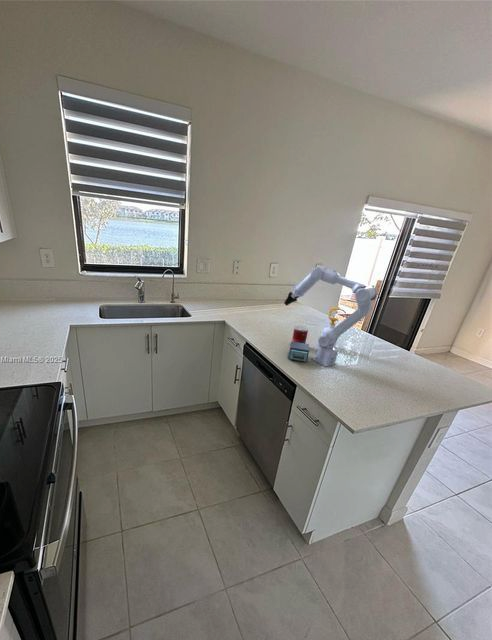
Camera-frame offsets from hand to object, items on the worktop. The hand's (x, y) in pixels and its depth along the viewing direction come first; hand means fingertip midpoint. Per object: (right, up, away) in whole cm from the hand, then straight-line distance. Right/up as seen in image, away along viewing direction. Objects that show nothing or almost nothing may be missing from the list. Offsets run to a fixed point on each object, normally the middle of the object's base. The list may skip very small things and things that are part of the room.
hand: (288, 302), depth 159 cm
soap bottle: (+27, -24, +15) cm, 39 cm away
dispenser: (+5, -30, -2) cm, 31 cm away
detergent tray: (+4, -31, -6) cm, 32 cm away
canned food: (+9, -24, +13) cm, 29 cm away
